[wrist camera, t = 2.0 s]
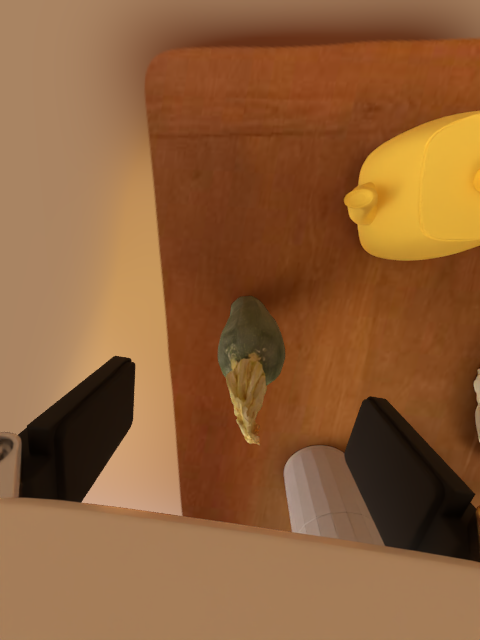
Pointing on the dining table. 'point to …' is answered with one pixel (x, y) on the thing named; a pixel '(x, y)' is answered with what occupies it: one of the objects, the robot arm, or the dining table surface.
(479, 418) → the wavy plaster lump
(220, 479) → the dining table surface
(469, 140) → the teapot
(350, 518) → the white hollow cylinder
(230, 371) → the vegetable
